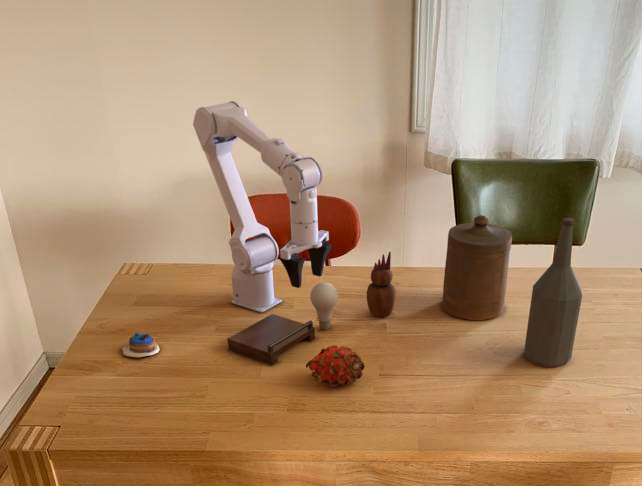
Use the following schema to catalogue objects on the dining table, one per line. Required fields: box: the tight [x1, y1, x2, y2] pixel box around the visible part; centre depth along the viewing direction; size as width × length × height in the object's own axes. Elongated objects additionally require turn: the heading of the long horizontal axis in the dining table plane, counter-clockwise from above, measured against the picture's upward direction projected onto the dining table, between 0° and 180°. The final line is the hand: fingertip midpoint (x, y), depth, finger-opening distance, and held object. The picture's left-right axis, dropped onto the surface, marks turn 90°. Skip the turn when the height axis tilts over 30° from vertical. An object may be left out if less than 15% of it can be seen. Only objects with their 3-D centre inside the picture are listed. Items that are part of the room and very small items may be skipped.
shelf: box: [227, 313, 316, 366], centre depth 172 cm, size 12×15×4 cm
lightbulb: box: [309, 281, 339, 331], centre depth 176 cm, size 6×6×11 cm
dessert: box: [121, 332, 160, 358], centre depth 169 cm, size 8×7×6 cm
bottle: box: [524, 217, 583, 368], centre depth 162 cm, size 10×10×30 cm
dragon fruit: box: [305, 345, 365, 388], centre depth 159 cm, size 8×8×12 cm
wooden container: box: [441, 214, 513, 321], centre depth 184 cm, size 15×15×22 cm
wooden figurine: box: [366, 251, 397, 318], centre depth 182 cm, size 7×6×15 cm
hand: (306, 280), depth 175 cm, fingers open, 7 cm apart
